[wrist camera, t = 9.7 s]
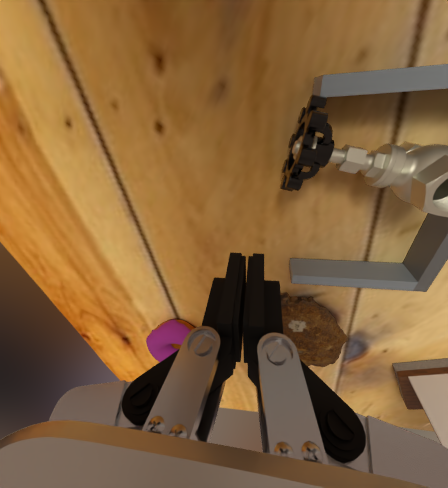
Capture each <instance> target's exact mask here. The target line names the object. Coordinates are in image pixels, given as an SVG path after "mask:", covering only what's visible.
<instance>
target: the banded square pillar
mask: <svg viewBox="0 0 448 488" xmlns="http://www.w3.org/2000/svg"><path fill="white" fill-rule="evenodd" d="M392 364H393V367H394V371H395V374H396V378H397V381H398V385H399V388H400V392H401V395H402V398H403V400H404V402H405V404H406V407H407V409H424V411H425V413H426V415H427V417H428V419H429V421H430V423H431V425H432V427H433V429H434V431H435V433H436V435H437V437H438V439H439V441H440V443H441V445H443V446H445V447H446V448H448V358H446V359H435V360H424V361H414V362H403V363H392Z"/></svg>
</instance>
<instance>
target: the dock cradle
mask: <svg viewBox="0 0 448 488" xmlns="http://www.w3.org/2000/svg"><path fill="white" fill-rule="evenodd" d="M447 88H448V64H443V65H432V66H421V67H409V68H398V69H387V70H376V71H364V72H353V73H342V74H331V75H322V76H319V77H316V78H314V86H313V93H312V95H317V96H322V97H337V96H351V95H365V94H378V93H392V92H406V91H420V90H433V89H447ZM447 259H448V217H443V216H438V215H434V214H430V213H428V215H427V217H426V219H425V221H424V223H423V224H422V226H421V228H420V230H419V232H418V234H417V236H416V238H415V240H414V242H413V244H412V246H411V248H410V250H409V252H408V254H407V256H406V258H405V259H404V261H403V263H387V262H365V261H342V260H320V259H298V258H290V263H289V269H290V276H291V283H296V284H312V285H328V286H343V287H359V288H375V289H391V290H407V291H423V292H426V291H427V290H428V288H429V287H430V285H431V284H432V282H433V281H434V279H435V278H436V276H437V275H438V273H439V272H440V270H441V269H442V267H443V265H444V264H445V262H446V261H447Z"/></svg>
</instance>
